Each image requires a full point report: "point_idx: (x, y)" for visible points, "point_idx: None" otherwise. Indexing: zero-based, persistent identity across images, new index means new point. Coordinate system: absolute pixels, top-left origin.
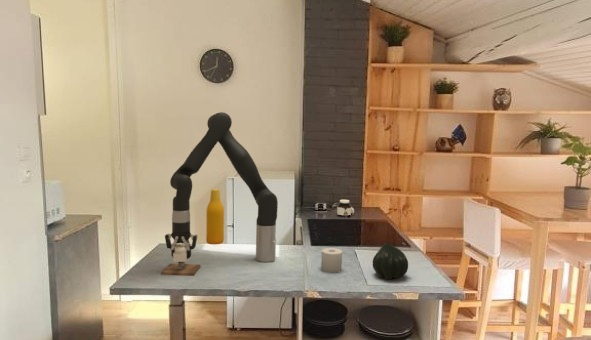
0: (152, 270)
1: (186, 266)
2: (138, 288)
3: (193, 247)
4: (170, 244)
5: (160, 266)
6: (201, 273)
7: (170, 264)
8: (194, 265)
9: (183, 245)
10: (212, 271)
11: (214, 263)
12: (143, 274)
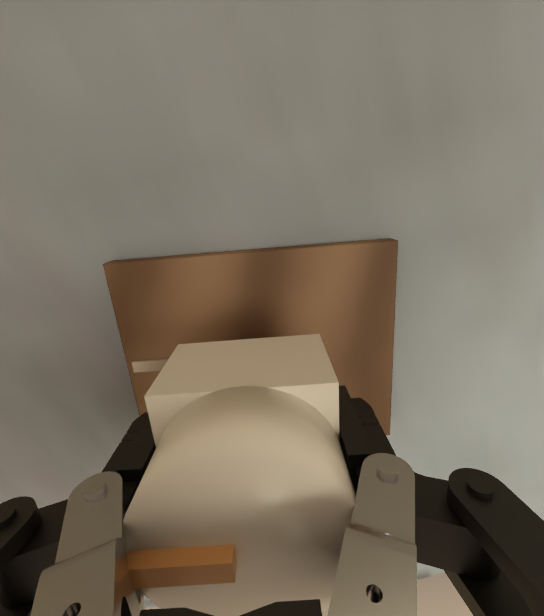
0: (46, 380)
1: (284, 309)
2: (146, 605)
3: (488, 575)
4: (4, 559)
5: (47, 290)
6: (427, 376)
7: (123, 285)
8: (347, 273)
9: (266, 512)
10: (507, 324)
11: (509, 113)
12: (38, 453)
